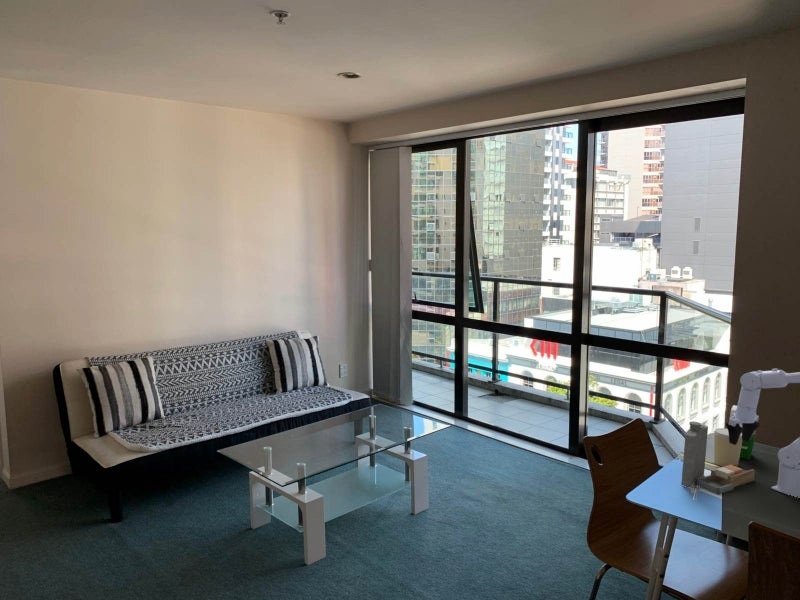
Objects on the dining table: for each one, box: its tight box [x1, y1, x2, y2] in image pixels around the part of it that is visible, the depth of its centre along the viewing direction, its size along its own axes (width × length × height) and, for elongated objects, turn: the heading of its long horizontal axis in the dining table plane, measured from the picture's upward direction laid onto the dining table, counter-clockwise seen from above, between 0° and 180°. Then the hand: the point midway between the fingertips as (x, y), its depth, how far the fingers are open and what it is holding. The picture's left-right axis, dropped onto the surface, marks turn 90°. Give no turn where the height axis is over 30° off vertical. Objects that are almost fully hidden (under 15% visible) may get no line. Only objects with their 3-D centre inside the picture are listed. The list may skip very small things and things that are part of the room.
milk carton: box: [729, 404, 757, 460], centre depth 226 cm, size 9×9×20 cm
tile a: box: [724, 465, 743, 475], centre depth 202 cm, size 4×4×2 cm
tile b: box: [715, 466, 735, 479], centre depth 199 cm, size 4×4×2 cm
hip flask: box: [680, 421, 709, 488], centre depth 201 cm, size 16×4×20 cm, turn 137°
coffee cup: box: [713, 427, 742, 467], centre depth 216 cm, size 9×9×12 cm
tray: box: [695, 474, 734, 495], centre depth 196 cm, size 8×8×2 cm
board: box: [710, 463, 756, 488], centre depth 202 cm, size 7×14×4 cm, turn 120°
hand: (738, 442), depth 206 cm, fingers open, 7 cm apart
